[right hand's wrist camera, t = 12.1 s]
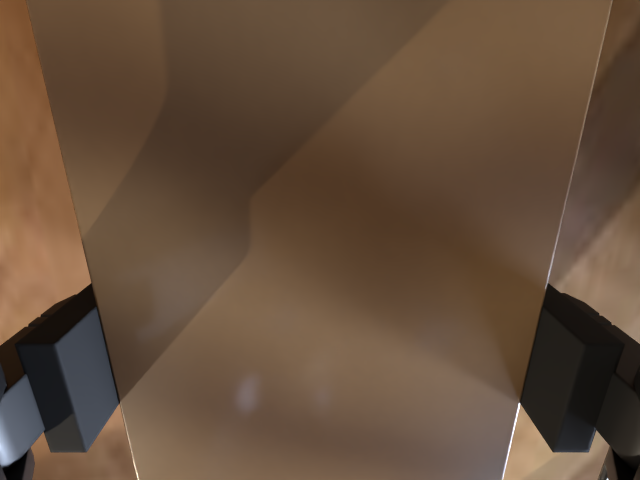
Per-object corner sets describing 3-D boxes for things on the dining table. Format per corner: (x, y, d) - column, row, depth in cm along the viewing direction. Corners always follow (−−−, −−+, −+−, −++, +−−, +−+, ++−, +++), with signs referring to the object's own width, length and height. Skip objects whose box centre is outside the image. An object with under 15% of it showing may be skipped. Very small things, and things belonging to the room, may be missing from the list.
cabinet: (176, -165, 13) (-166, -812, 4) (462, -165, 13) (804, -816, 4) (225, 314, 19) (140, 500, 10) (415, 314, 19) (499, 500, 10)
